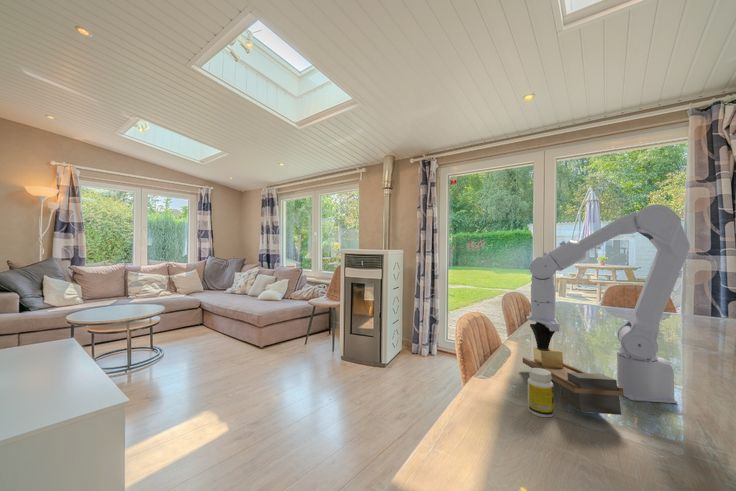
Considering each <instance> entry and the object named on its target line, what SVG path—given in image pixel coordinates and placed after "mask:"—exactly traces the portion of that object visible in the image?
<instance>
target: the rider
mask: <svg viewBox="0 0 736 491" xmlns="http://www.w3.org/2000/svg"><path fill="white" fill-rule="evenodd" d="M563 357H564V356H563V351H562V350H558V349H556V348H553V347H552V348H550V347H549V348H537V347H533V358H534V359H533V360H534V362H535V363H537V364H539V365H541V366H542V367H549V368H563V363H564V358H563Z"/></svg>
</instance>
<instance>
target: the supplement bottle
mask: <svg viewBox="0 0 736 491" xmlns="http://www.w3.org/2000/svg"><path fill="white" fill-rule="evenodd" d="M528 372H529V373H528V376H529V377H528V378H527V382H528V385H527V410H528V411H529V412H530V413H532V415H535V416H537V417H541V418H551V417H553V416H554V414H555V404H554V403H555V401H554V400H555V399H554V397H555V395H554V390H555V389H554V388H555V386H554V383H553V382H552V377H551V372H550V371H548V370H545V369H541V368H531V367H530V368H529V370H528Z"/></svg>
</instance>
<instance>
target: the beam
mask: <svg viewBox="0 0 736 491" xmlns="http://www.w3.org/2000/svg"><path fill="white" fill-rule="evenodd" d="M522 364H524V365H526V366H528V367H529V368H530V369H531V368H541V369H545V370H548V371H550V372H551V377H552V379H551V381H554V382H555V383H557V384H559V394H560V395H559V396H560V400H563V401H564V402H566V404H568V405H570V406H571V407H573V408H574V409H576V410H577V411H579V412H580V413H587V414H588V413H590V414H605V415H616V416H617V415H618V416H619V415H620V416H621V415H622V408H621V398H620V397H625V396H624V392H623V388H622V387H619V386H617V384H618V381H617V379H615V378H613V377H610V376H608V375H605V374H603V373H588V372H586V371H584V370H581V369H579V368H577V367H575V366H572V365H570V364H568V363H565V362H563V368H549V367H542V366H541V365H539V364H537V363H535V362H534V359H528V358H526V357H522Z"/></svg>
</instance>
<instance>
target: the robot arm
mask: <svg viewBox="0 0 736 491" xmlns="http://www.w3.org/2000/svg"><path fill="white" fill-rule="evenodd" d="M636 233H639V234H640V235H641V236H644V237H645V238H647V239H648V241H649V242H651V244H652V245H653V246H654V248H655V249H656V250H657V251H656V253H655V256H654V259H653V261H652V264H651V266H650V268H649V271H648V274H647V275H646V278H645V281H644V283H643V286H642V289H641V292H640V293H639V296H638V298H637V301H636V304H635V305H634V309H633V311H632V313H631V314H630V315H629V316H628V318H627V322H625V324H624V325H622V326H621V327H619V329H618V331H617V339H618V341H619V343H620V346H621V347H620V348H618V349H617V350H616V370H617V371H616V372H617V374H616V376H617V379H616V380H617V386H619V387H622V388H623V392H624V396H623V397H625V398H627V399H628V400H631V401H636V402H653V403H668V404H678V400H676V399H675V373H674V369H673V367H672V365H671V363H670V362H669V361H668V360H667V359H666V358H664V357H661V356H658V355H657V353H658V351H659V344H658V335H659V332H660V322H661V319H662V317H663V314H664V312H665V310H666V308H667V304H668V302H669V300H670V297H671V295H672V293H673V290H674V288H675V286H676V283H677V280H678V278H679V276H680V273H681V271H682V268H683V266H684V263H685V261H686V259H687V257H688V254H689V252H690V248H691V244H690V242H689V240H688V238H687V234H686V231H685V229H684V227H683V224H682V218H681V216H679V214H677V213H676V212H675V211H674V210H673V209H671V208H670V207H669V206H667V205H664V204H658V203H656V204H649V205H646V206H644V207H643V208H641V209H640V210H639V211H638V212H637V210H636V211H633V212H631V213H629V214H626V215H624V216H621V217H619V218H617V219H615V220H613V221H611V222H610V223H608V224H606V225H604V226H603V227H601V228H599V229H598V230H596V231H594V232H593V233H591V234H589V235H587V236H585V237H584V238H583V239H581V240H578V241H577V240H576V241H575V240H567V241H565V240H564V241H561V242H560V243H559V246H557V247H555V248H554V249H552V250H550V251H548V252H546V251H545V252H543V253H542V256H537V257H536V258H535V259H533V260H532V261H531V263H530V264H529V265H530V266H529V272H530V273H531V277H530V281H531V283H530V312H529V311H528V315H527V316H526V317H525V318H526V320H527V321H533V322H536V323H530V324H529V327H530V328H531V331H532V332H533V335H534V339H535V342H536V348H550V342H551V341H552V338H553V336H554V334H555V333H556V332H560V323H559V322H558V321H557V319H556V285H555V276H554V275H555V274H556V271H559V272H562V271H564V270H566V269H568V268H570V267H572V266H573V265H575V264H577V263H579V262H581V261H583V260H585V259H586V255H587V254H586V253H587V252H588V251H590V250H592V249H594V248H596V247H597V246H600V245H603V244H605V243H606V242H609V241H610V240H612V239H614V238H616V237H618V236H621V235H623V236H624V235H633V234H636Z"/></svg>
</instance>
